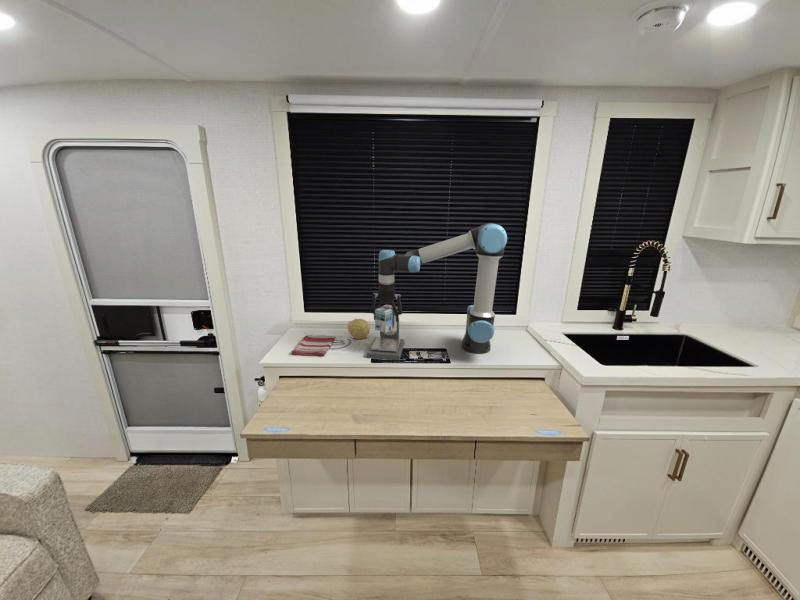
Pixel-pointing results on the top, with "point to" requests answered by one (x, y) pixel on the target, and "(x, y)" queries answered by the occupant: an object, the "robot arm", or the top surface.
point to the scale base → (387, 354)
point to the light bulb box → (384, 318)
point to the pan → (386, 344)
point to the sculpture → (359, 328)
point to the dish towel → (314, 345)
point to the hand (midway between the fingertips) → (386, 326)
